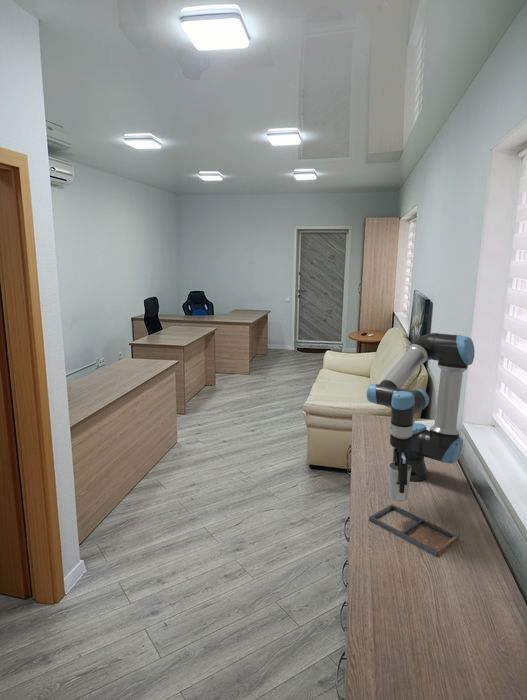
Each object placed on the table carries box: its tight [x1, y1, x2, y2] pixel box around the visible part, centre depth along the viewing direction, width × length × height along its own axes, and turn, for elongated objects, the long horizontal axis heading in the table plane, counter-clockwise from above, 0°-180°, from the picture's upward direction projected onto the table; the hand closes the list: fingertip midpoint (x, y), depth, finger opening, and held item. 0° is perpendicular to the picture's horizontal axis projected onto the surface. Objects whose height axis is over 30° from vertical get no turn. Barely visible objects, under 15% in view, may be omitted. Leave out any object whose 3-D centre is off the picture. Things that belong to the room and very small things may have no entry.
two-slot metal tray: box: [368, 504, 460, 557], centre depth 159 cm, size 27×14×2 cm, turn 39°
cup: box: [387, 461, 411, 502], centre depth 162 cm, size 8×8×12 cm
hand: (398, 493), depth 163 cm, fingers closed on cup, 7 cm apart
